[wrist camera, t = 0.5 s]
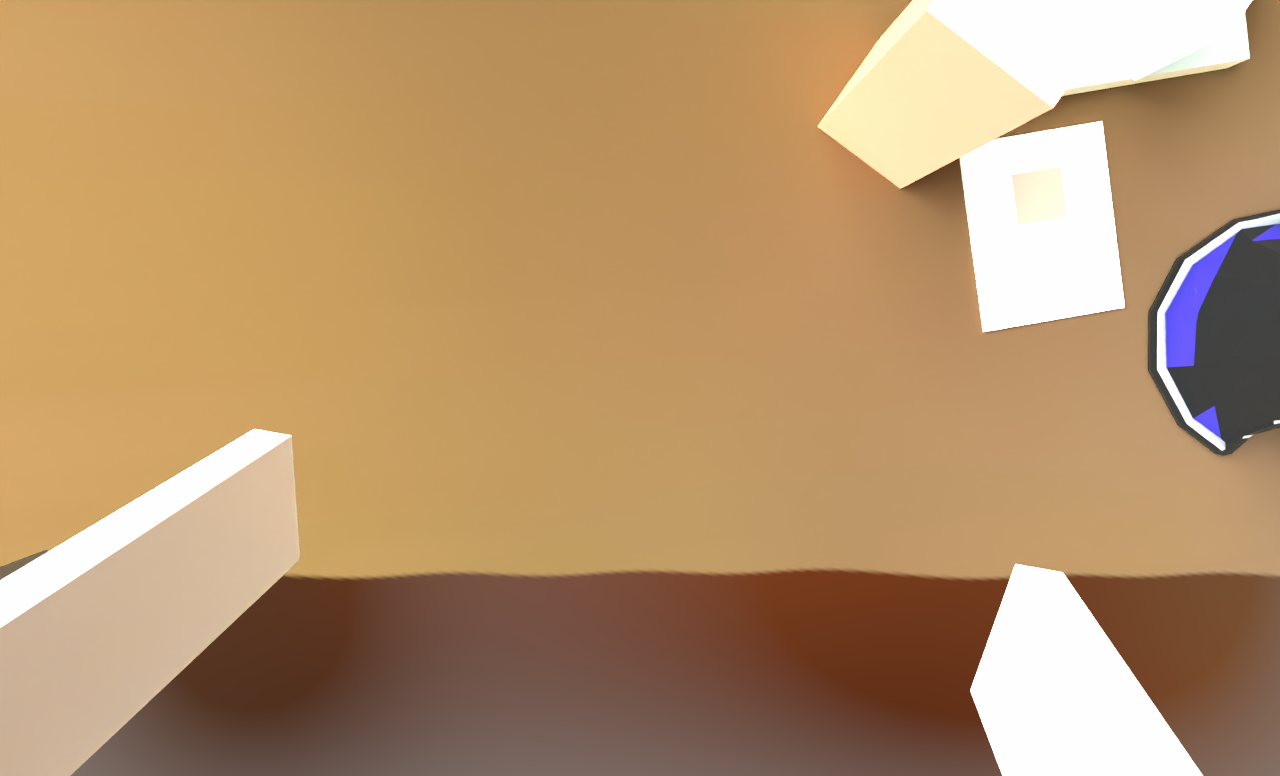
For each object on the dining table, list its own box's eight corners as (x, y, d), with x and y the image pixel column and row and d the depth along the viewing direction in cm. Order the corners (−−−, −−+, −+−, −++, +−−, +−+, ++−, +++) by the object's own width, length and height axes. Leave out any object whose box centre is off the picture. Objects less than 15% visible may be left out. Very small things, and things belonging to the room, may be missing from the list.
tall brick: (817, 126, 34) (926, 10, 22) (879, 38, 34) (1023, -127, 22) (900, 188, 34) (1053, 107, 22) (962, 102, 34) (1149, -27, 22)
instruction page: (957, 146, 34) (959, 144, 34) (1099, 121, 34) (1102, 120, 34) (982, 332, 35) (985, 331, 35) (1122, 307, 35) (1125, 307, 35)
